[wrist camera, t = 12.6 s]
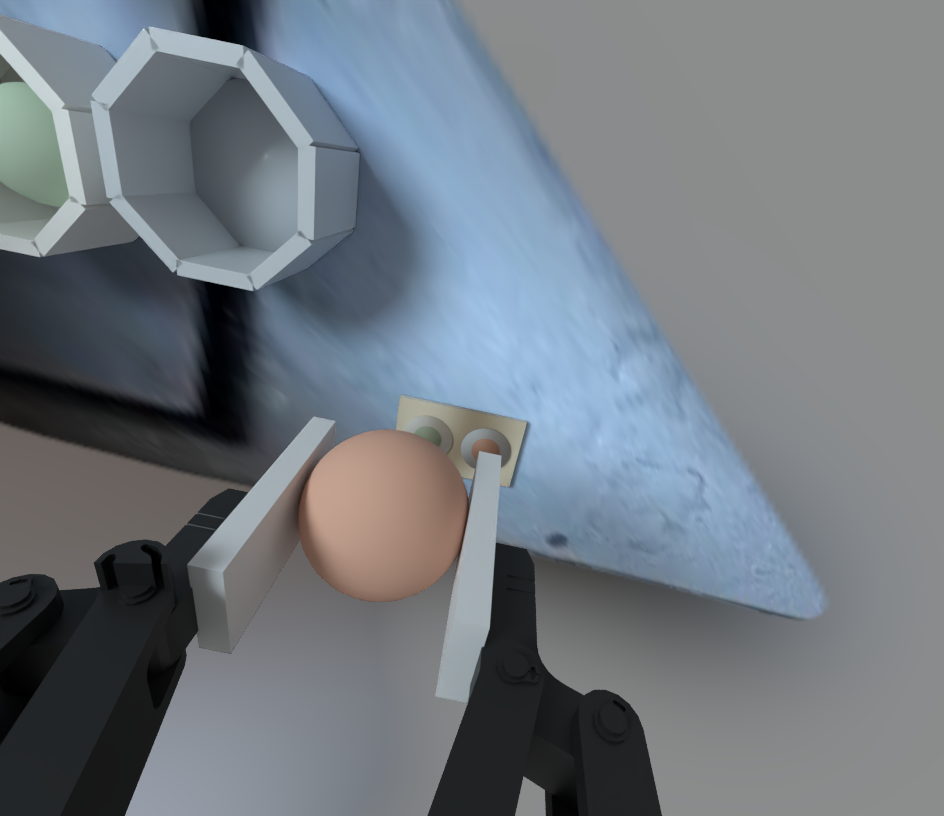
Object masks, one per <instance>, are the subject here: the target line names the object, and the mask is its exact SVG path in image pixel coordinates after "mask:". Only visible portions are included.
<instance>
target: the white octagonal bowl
mask: <svg viewBox="0 0 944 816" xmlns="http://www.w3.org/2000/svg"><path fill="white" fill-rule="evenodd" d="M115 64H116V62H115V60H114V59H113V58H112V57H111V56H110V54H109V53H108V52H107V51H106V49H105V48H102V47H101V46H100V45H97V44H94V43H91V42H87V41H84V40H81V39H78V38H75V37H71V36H68V35H65V34H62V33H58V32H55V31H52V30H49V29H45V28H42V27H39V26H36V25H32V24H29V23H26V22H23V21H20V20H16V19H13V18H10V17H7V16H3V15H0V84H2V83H7V82H26V83H27V84H28V85H29V87H30V88H31V89H32V90H33V91H34V92H35V93H36V94H37V96H38V97H39V98H40V99H41V100H42V101H43V102H44V103H45V105H46V106H47V107H48V108H49V109H50V110H51V111H52V115H53V120H54V125H55V129H56V134H57V139H58V144H59V149H60V154H61V158H62V163H63V168H64V173H65V178H66V183H67V187H68V192H69V199H68V200H67V201H66V202H65V203H64V204H63V206H62V207H56V206H51V205H46V204H42V203H39V202H36V201H33V200H31V199H28V198H26V197H24V196H22V195H20V194H19V193H17V192H15V191H14V190H12V189H10V188H9V187H7V186H6V185H5V184H3V183H2V182H1V181H0V249H2V250H7V251H12V252H17V253H22V254H27V255H31V256H36V257H45V256H51V255H57V254H63V253H69V252H75V251H81V250H87V249H93V248H98V247H104V246H110V245H116V244H122V243H128V242H132V241H135V240H136V239H137V238H138V237H139V234H138V233H137V232H136V231H135V230H134V229H133V228H132V227H131V226H130V225H129V223H128V222H127V221H126V220H125V219H124V218H123V217H122V216H121V215H120V214H119V212H118V211H117V210H116V209H115V208H114V207H113V206H112V205H111V204H110V201H111V200H112V199H113V198H108V197H107V195H106V190H105V184H104V178H103V172H102V166H101V160H100V155H99V149H98V143H97V137H96V131H95V126H94V120H93V114H92V108H91V102H90V100H91V101H96V100H95V99H94V98H93V96H92V95H91V94H92V93H93V92H94V91H95V89H96V88H97V87H98V86H99V84H100V83H101V82H102V80H103V79H104V78H105V77H106V75H107V74H108V73H109V72H110V70H111V69H112V68H113V67H114V65H115Z"/></svg>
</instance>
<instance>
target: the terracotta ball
mask: <svg viewBox="0 0 944 816" xmlns="http://www.w3.org/2000/svg"><path fill="white" fill-rule="evenodd" d="M468 512H469V502H468V496H467V490H466V487H465V485H464V482H463V479H462V477H461V475H460V473H459V471H458V469H457V468H456V466H455V465H454V463H453V462H452V460H451V459H450V458H449V457H448V456H447V455H446V454H445V452H443V451H442V450H441V449H440V448H439V447H438V446H436V445H435V444H433V443H432V442H430V441H429V440H427V439H425V438H423V437H421V436H418V435H416V434H413V433H409V432H406V431H400V430H391V429H384V430H374V431H369V432H364V433H361V434H358V435H355V436H353V437H351V438H349V439H347V440H345V441H343V442H341V443H340V444H339V445H337V446H336V447H334V448H333V449H332V450H330V451H329V452H328V453H327V454H326V455H325V456H324V457H323V458H322V459H321V460H320V461H319V463H318V464H317V465H316V467H315V468H314V469H313V471H312V472H311V474H310V476H309V478H308V480H307V482H306V484H305V486H304V489H303V492H302V495H301V499H300V504H299V511H298V526H299V535H300V539H301V543H302V547H303V549H304V552H305V554H306V556H307V558H308V560H309V561H310V563H311V565H312V567H313V568H314V569H315V571H316V572H317V573H318V574H319V575H320V576H321V578H322V579H324V580H325V581H326V582H327V583H328V584H329V585H330V586H332V587H333V588H335V589H336V590H338V591H340V592H341V593H343V594H346V595H348V596H350V597H353V598H356V599H360V600H364V601H371V602H389V601H396V600H401V599H404V598H407V597H410V596H413V595H415V594H417V593H419V592H421V591H423V590H425V589H426V588H428V587H429V586H431V585H432V584H434V583H435V582H436V581H437V580H438V579H439V578H440V577H441V576H442V575H444V574H445V573H446V572H447V570H448V569H449V568H450V566H451V565H452V564H453V562H454V561H455V560H456V558H457V556H458V554H459V552H460V550H461V547H462V543H463V538H464V534H465V529H466V524H467V518H468Z"/></svg>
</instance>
